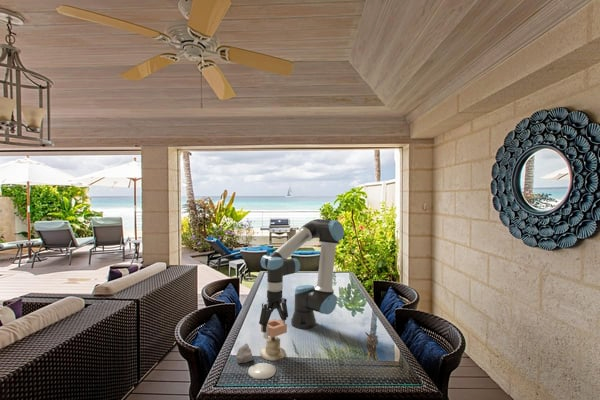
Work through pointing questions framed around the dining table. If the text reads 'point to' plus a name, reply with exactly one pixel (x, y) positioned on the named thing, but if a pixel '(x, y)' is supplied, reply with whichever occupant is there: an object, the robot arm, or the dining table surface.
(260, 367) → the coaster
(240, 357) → the stone
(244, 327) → the dining table surface
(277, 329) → the link
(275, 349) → the stand
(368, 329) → the dining table surface
